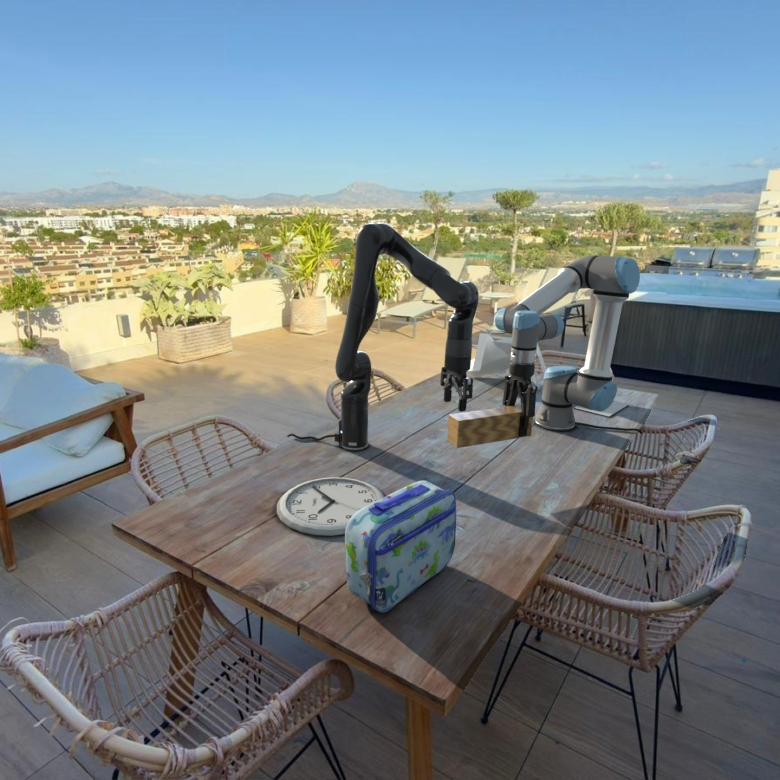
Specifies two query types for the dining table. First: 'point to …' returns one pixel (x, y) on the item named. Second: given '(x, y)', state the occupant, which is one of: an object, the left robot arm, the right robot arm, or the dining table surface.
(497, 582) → the dining table surface
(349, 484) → the wall clock
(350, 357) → the left robot arm
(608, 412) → the invitation card
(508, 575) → the dining table surface
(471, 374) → the white plastic object
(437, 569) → the lunch box
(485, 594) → the dining table surface
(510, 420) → the box
